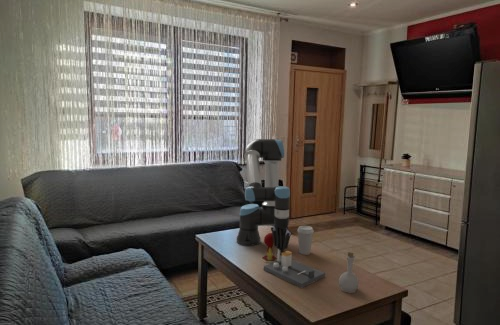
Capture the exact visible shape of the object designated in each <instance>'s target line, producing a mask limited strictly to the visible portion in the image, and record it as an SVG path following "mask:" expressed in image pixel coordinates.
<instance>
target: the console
mask: <svg viewBox="0 0 500 325" xmlns="http://www.w3.org/2000/svg"><path fill="white" fill-rule="evenodd" d="M263 271H265V272H266V273H270V274H272V275H274V276H276V277H277V278H280V279H282V280H284V281H285V282H288V283H290V284H292V285H294V286H297V287H299V288H301V289H304V287H306V286H309V285H311V284H313V283H315V282H317V281H319V280H321V279H323V278H325V277H326V273H325V272H324V271H322V270H319V269H316V268H314V267H312V266H309V265H306V264H304V263H301V262H299V261H297V260H294V259H292V263H291V266H289V267H286V266H281V261H280V262H278V261H276V262H273V263H267V264H266V265H263Z"/></svg>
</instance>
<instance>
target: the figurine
mask: <svg viewBox="0 0 500 325" xmlns="http://www.w3.org/2000/svg"><path fill="white" fill-rule="evenodd" d="M263 243H264V244H265V245H266V247H267V248H266V255H264V256H262V257H260V261H262V262H264V263H266V264H271V263H273V262H276V261H277V257H276V256H275V255H273V254H274V249H273V248H276V246H274V243H273V236H272V232H268V233H267V234H266V235H265V236H264V237H263Z"/></svg>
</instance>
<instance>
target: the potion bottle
mask: <svg viewBox="0 0 500 325" xmlns="http://www.w3.org/2000/svg"><path fill="white" fill-rule="evenodd" d="M345 258H346V261H347V268H346V270H347V271H345V272H343V273H341V275H340V276H339V278H338V283H339V287H340V289H341V291H342V292H344V293H346V294H347V293H349V294H352V293H356V291H357V289H358V287H359V284H360V283H359V278H358V276H357V275H356V274H355V273H354V272H353V262H354V260H355V258H356V257H355V255H354V253H353V252H350V251H348V252H347V255H345Z"/></svg>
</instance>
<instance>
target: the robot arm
mask: <svg viewBox="0 0 500 325" xmlns="http://www.w3.org/2000/svg"><path fill="white" fill-rule="evenodd" d="M243 157H244V159H245V161H246V162H245V163H246V164H245V165H246V176H247V186H245V188H244V199H245V201H248V202H262V203H261V206H260V205H259V204H257V203H249V204H245V205H242V206H241V207H240V209H239V230H238V232H237V233H238V234H237V236H236V243H237V244H239V245H242V246H248V247H249V246H257V245H259V244H260V243H261V240H262V239H261V236H260V232H259V227H260V226H264V227H266V226H272V227H270V230H271V233H272V236H273V243H274V246H275V248H276V254H277V257H276V258H277V261H278V262H280V261H282V255H281V254H282V252H285V250H287V249H288V246H289V242H290V238H291V236H292V235H293V233H292V231H291V232H290V231H289V224H290V200H291V199H290V198H291V197H290V196H291V189H290V188H289V186H281V185H279V180H280V179H279V178H280V177H279V175H280V174H279V173H280V170H279V169H280V167H279V166H280V163H281V162H282V159H284V157H285V147H284V143H283V141H282V140H281V139H276V138H273V139H272V138H271V139H269V138H267V139H266V138H255V139H253V140H252V141H250V142H249V143H248V144H247V146H246V147H245V148H244V152H243ZM260 158H261V159H262V162H263V163H264V167H265V168H264V186H263V185H262V177H261V167H260Z"/></svg>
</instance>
